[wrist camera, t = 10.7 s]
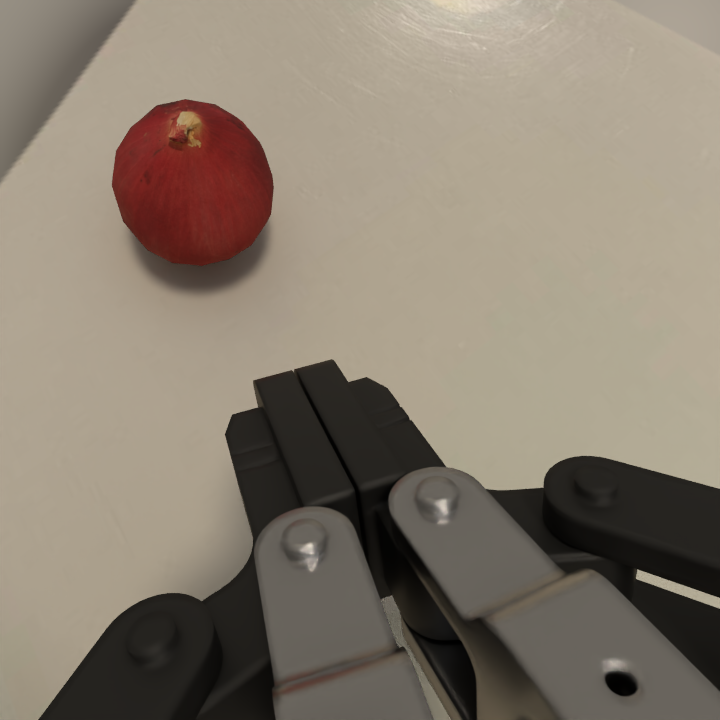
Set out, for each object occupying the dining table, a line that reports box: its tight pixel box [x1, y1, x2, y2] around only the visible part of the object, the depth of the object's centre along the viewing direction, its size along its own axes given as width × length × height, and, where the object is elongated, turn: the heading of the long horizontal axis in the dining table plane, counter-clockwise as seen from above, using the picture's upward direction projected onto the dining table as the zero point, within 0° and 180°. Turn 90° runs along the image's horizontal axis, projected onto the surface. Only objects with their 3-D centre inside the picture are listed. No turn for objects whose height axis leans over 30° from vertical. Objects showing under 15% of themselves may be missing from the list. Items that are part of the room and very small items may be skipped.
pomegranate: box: [112, 99, 274, 266], centre depth 24 cm, size 6×6×8 cm
